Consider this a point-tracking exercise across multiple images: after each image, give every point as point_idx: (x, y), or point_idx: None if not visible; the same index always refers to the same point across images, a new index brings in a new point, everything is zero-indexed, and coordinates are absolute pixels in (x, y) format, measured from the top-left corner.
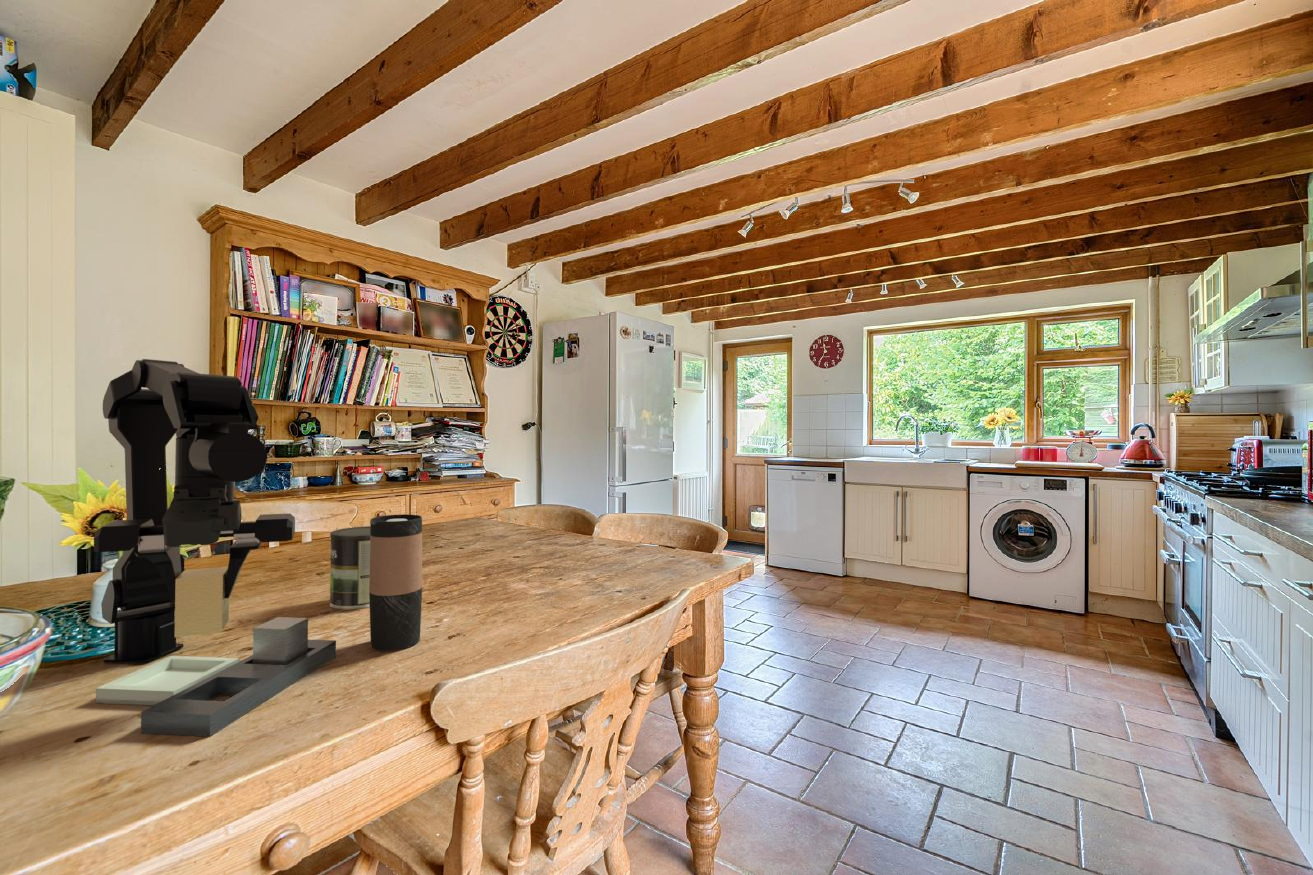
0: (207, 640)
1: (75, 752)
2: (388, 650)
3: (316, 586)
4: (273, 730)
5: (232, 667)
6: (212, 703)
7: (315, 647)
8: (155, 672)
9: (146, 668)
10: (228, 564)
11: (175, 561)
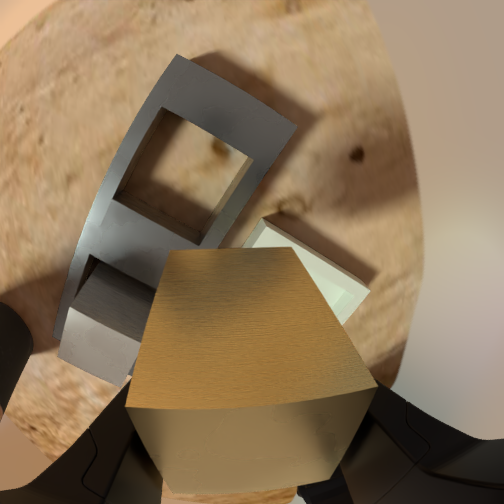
0: None
1: (354, 111)
2: (2, 303)
3: (183, 496)
4: (94, 53)
5: None
6: (180, 104)
7: None
8: None
9: None
10: (116, 479)
11: (390, 491)
